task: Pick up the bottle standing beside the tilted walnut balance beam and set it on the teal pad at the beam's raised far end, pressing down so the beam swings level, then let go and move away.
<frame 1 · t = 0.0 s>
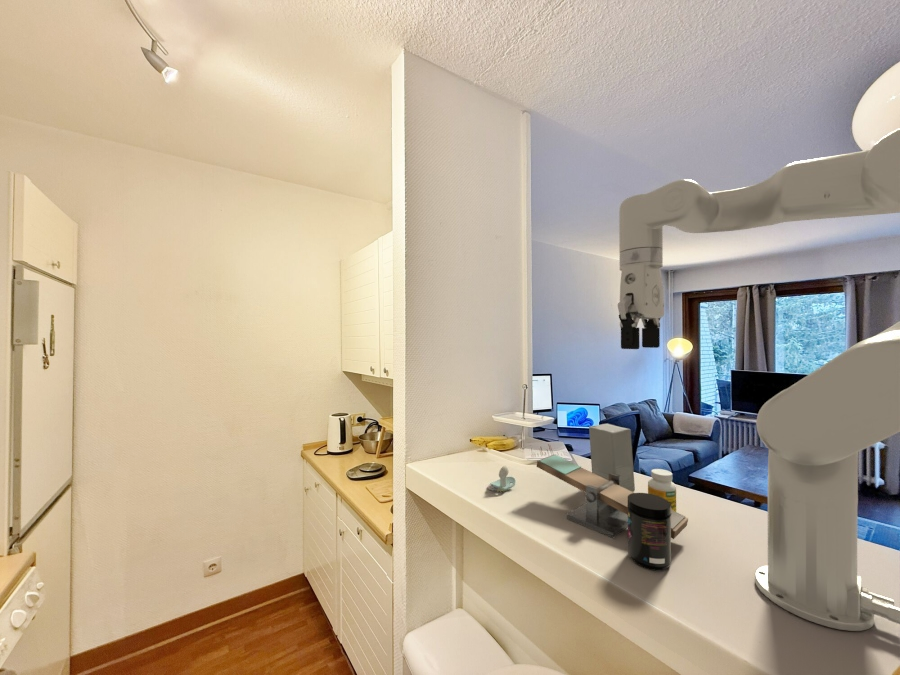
hand: (640, 348, 73), 37 cm above the table, tool pointing down, fingers open, 9 cm apart
beam stand: (604, 517, 80), on the table
supplement container: (648, 561, 65), on the table
beam: (603, 489, 80), point 6 cm above the table, hinge at -10.0°
skincare box: (611, 489, 95), on the table
pacifier: (500, 489, 95), on the table
supplement bottle: (661, 516, 80), on the table
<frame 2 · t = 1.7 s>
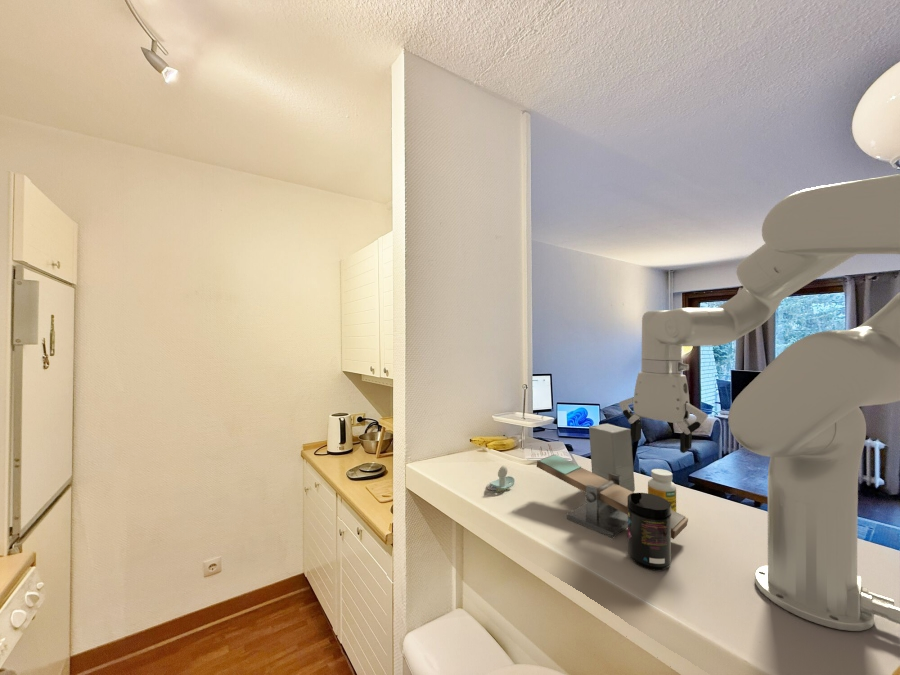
hand: (659, 445, 81), 15 cm above the table, tool pointing down, fingers open, 9 cm apart
nothing on the table moved.
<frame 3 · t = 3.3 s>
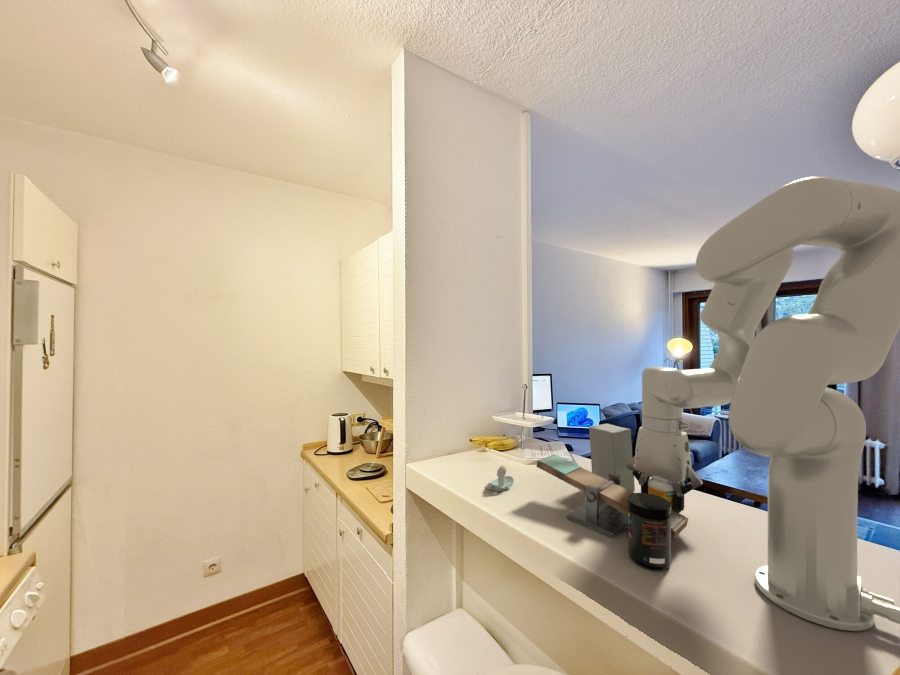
hand: (661, 506, 80), 2 cm above the table, tool pointing down, fingers closed on supplement bottle, 5 cm apart
supplement bottle: (661, 516, 80), on the table, touching gripper
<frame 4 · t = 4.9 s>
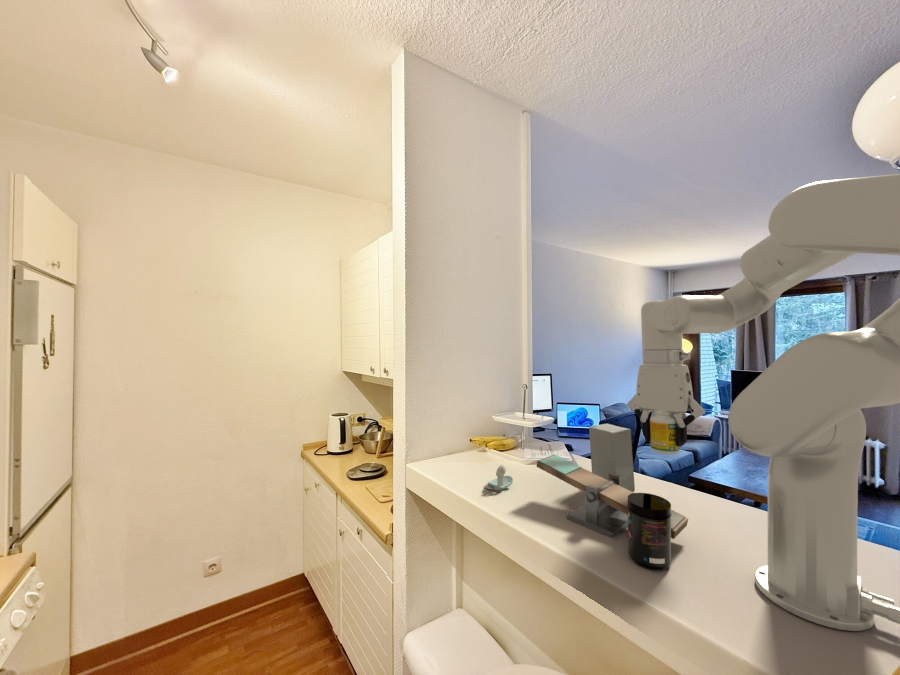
hand: (664, 441, 79), 16 cm above the table, tool pointing down, fingers closed on supplement bottle, 5 cm apart
supplement bottle: (664, 452, 79), point 14 cm above the table, touching gripper
everything else where it was.
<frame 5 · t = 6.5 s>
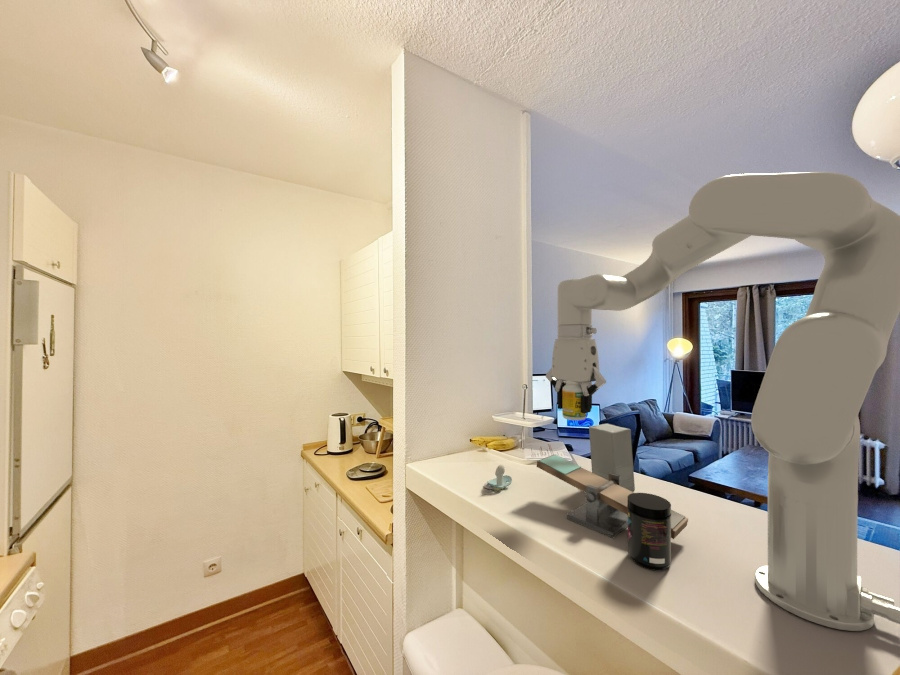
hand: (573, 409, 87), 22 cm above the table, tool pointing down, fingers closed on supplement bottle, 5 cm apart
supplement bottle: (574, 418, 87), point 20 cm above the table, touching gripper
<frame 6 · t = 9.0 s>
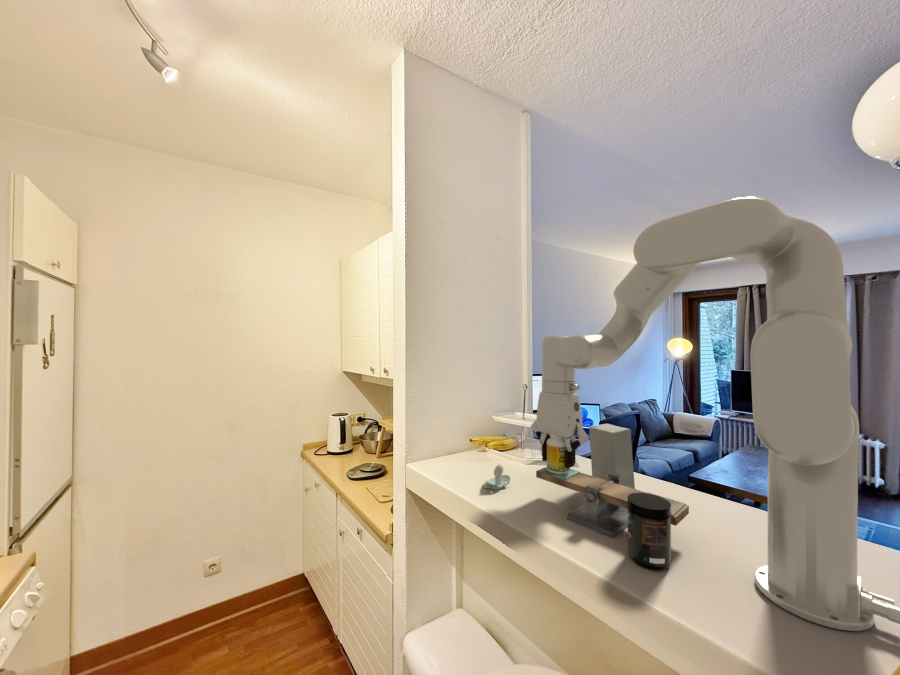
hand: (558, 462, 88), 9 cm above the table, tool pointing down, fingers closed on supplement bottle, 5 cm apart
beam: (603, 489, 80), point 6 cm above the table, hinge at -0.3°, touching supplement bottle
supplement bottle: (558, 471, 88), point 7 cm above the table, touching beam, gripper
when the fingers open (9 cm above the table, at t = 9.9 s): supplement bottle stays where it is, resting on beam.
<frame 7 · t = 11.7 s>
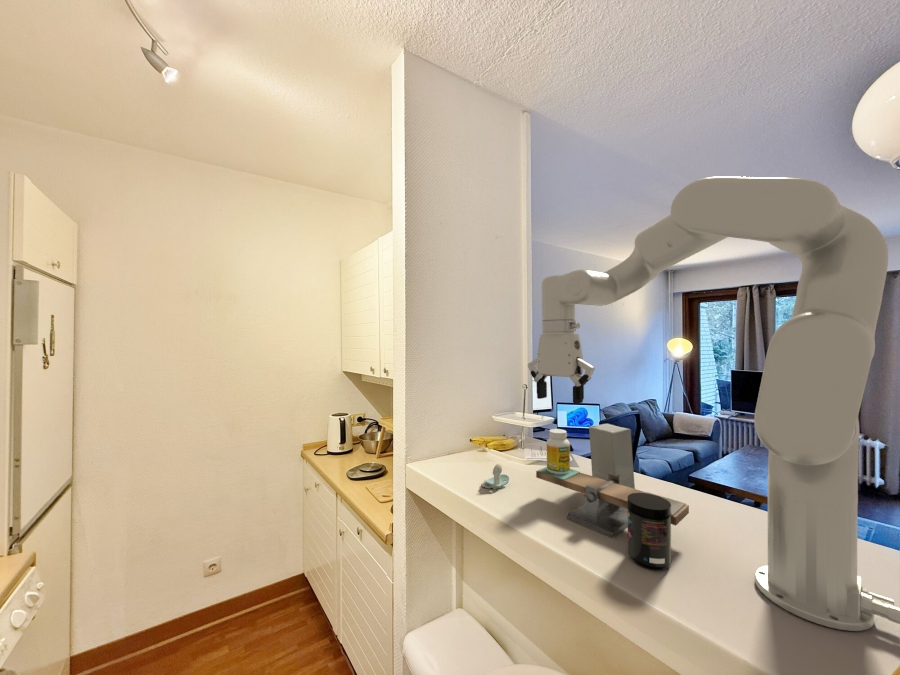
hand: (559, 400, 88), 24 cm above the table, tool pointing down, fingers open, 9 cm apart
supplement bottle: (558, 471, 88), point 7 cm above the table, touching beam
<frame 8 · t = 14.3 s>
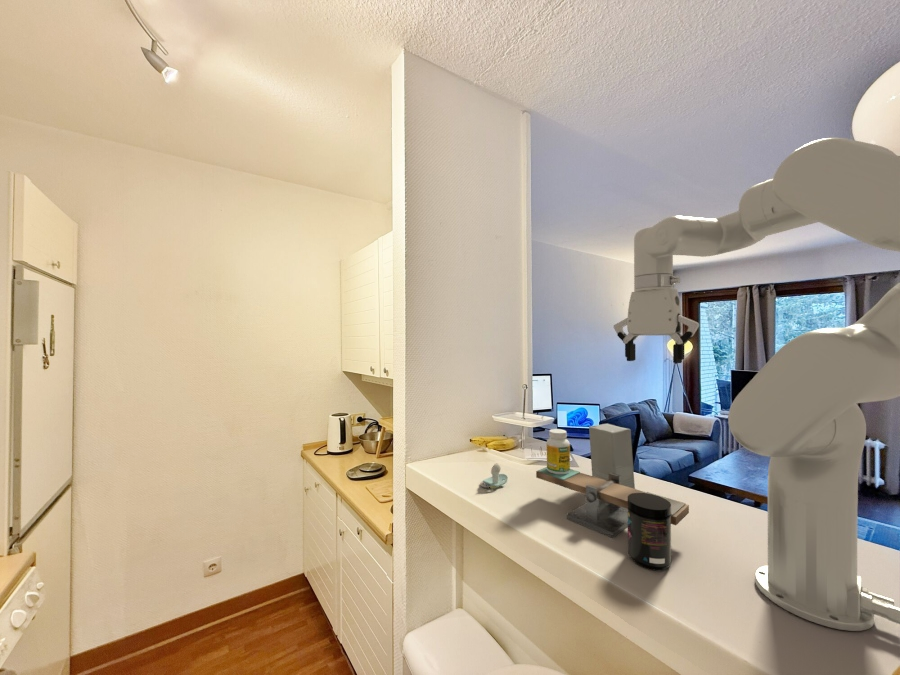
hand: (653, 361, 82), 33 cm above the table, tool pointing down, fingers open, 9 cm apart
at the end: beam at +0° (first picture: -10°); supplement bottle inside the target area (0.3 cm from its centre), point 6.7 cm above the table; supplement bottle tilted 0° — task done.
